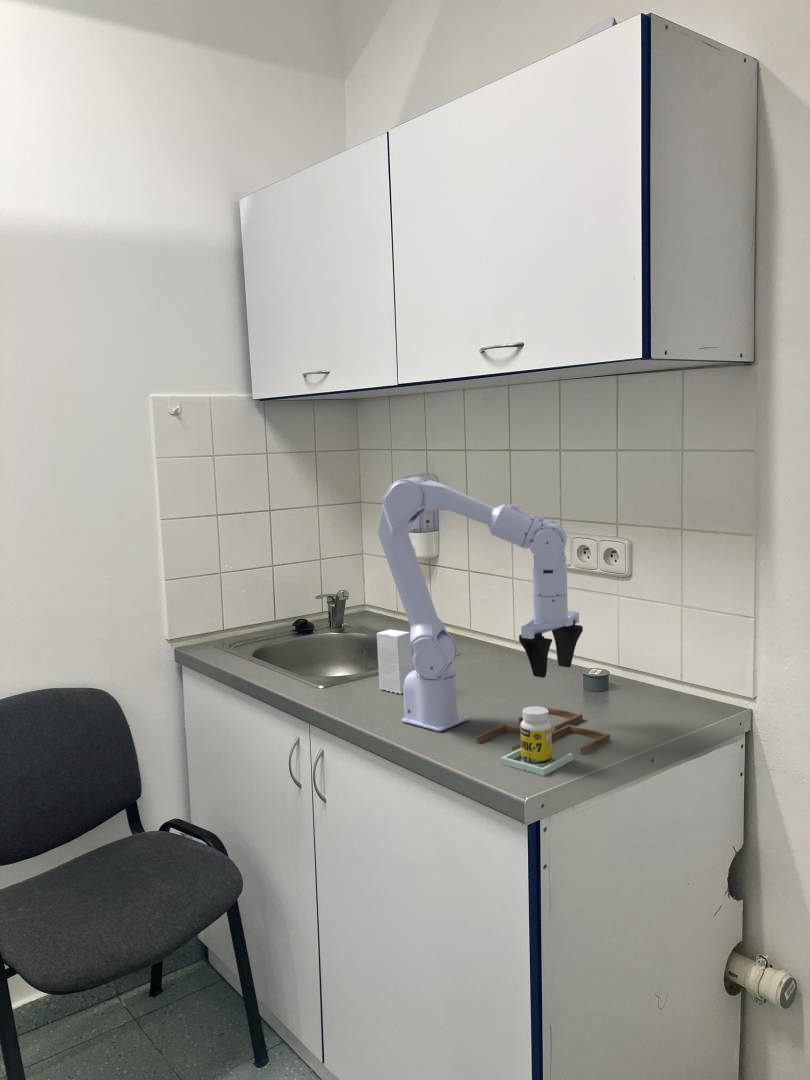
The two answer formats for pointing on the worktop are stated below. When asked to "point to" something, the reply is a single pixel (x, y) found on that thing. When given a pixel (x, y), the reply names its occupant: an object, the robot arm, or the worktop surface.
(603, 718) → the worktop surface
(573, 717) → the stall left
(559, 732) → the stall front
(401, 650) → the skincare box
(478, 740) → the frame
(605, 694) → the worktop surface
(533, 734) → the supplement bottle
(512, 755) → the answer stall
